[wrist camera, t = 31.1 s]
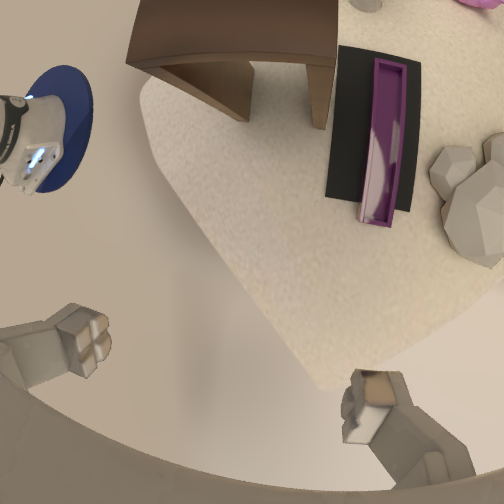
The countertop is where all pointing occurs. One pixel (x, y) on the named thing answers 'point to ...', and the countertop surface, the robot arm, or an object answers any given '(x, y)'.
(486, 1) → the teapot
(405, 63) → the charcoal mat
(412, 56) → the countertop surface
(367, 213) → the plum dish
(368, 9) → the chalice
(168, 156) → the countertop surface
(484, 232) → the rock
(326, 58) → the walnut stand
